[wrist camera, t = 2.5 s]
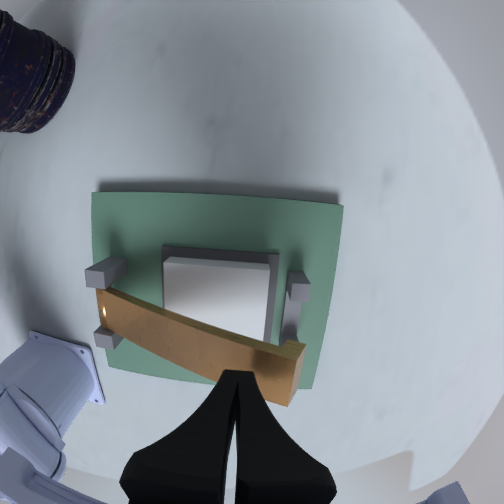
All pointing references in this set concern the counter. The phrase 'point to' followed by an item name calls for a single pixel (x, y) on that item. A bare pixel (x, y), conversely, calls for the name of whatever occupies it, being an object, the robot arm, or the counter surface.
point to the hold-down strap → (203, 344)
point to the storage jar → (31, 76)
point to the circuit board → (219, 230)
